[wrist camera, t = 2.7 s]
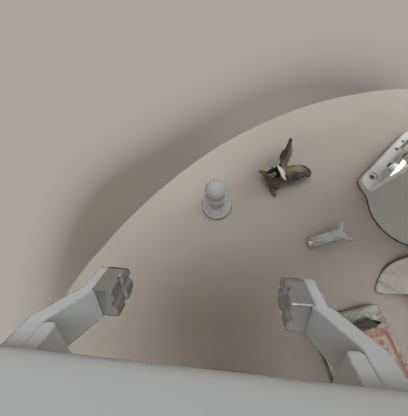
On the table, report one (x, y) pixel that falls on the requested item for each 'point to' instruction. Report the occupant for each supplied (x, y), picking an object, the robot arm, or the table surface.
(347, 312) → the packaged product
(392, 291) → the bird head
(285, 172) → the eagle figurine
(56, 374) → the robot arm
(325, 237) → the dog figurine
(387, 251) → the table surface
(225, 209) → the chess piece
